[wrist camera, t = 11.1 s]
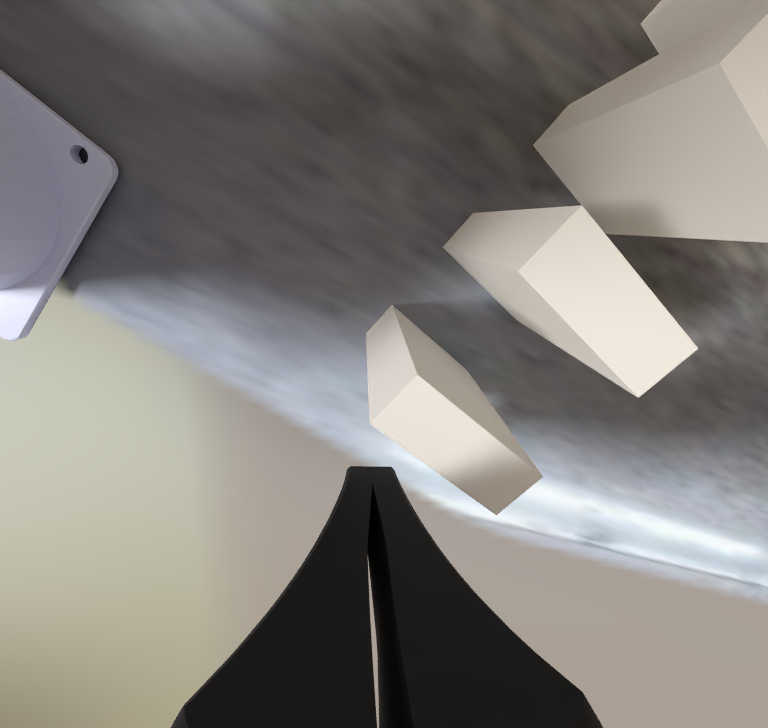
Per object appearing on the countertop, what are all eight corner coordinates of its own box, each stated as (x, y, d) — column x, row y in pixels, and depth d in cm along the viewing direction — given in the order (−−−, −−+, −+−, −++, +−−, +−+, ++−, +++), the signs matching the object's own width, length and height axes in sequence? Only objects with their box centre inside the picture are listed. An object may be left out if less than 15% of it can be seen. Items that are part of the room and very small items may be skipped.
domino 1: (365, 334, 15) (369, 423, 8) (391, 304, 14) (417, 374, 8) (440, 395, 16) (496, 515, 9) (466, 369, 16) (543, 476, 9)
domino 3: (442, 247, 14) (517, 271, 7) (472, 213, 13) (581, 205, 7) (516, 320, 15) (638, 398, 8) (546, 291, 14) (698, 348, 8)
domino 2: (532, 145, 12) (718, 63, 6) (568, 105, 12) (810, -31, 6) (604, 233, 14) (823, 245, 7) (639, 199, 13) (903, 179, 7)
